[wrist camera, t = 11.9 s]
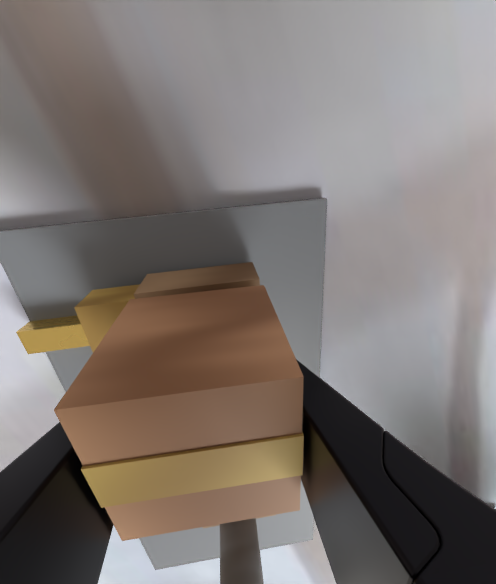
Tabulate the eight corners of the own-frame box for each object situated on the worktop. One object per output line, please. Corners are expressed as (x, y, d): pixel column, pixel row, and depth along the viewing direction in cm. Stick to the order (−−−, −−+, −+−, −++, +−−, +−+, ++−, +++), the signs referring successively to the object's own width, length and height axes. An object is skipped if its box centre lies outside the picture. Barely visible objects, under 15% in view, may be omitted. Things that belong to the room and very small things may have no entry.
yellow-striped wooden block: (264, 284, 8) (305, 378, 4) (269, 384, 10) (301, 512, 6) (129, 299, 8) (51, 413, 4) (157, 399, 9) (120, 544, 6)
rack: (252, 261, 10) (292, 357, 5) (269, 480, 16) (296, 630, 11) (92, 280, 10) (-53, 405, 4) (170, 497, 16) (147, 662, 10)
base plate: (323, 197, 10) (327, 198, 10) (311, 533, 21) (312, 539, 20) (-6, 230, 9) (-14, 233, 9) (156, 562, 20) (155, 569, 19)
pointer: (92, 313, 11) (83, 323, 10) (100, 334, 11) (92, 345, 10) (30, 321, 10) (16, 332, 10) (40, 341, 11) (28, 353, 10)
